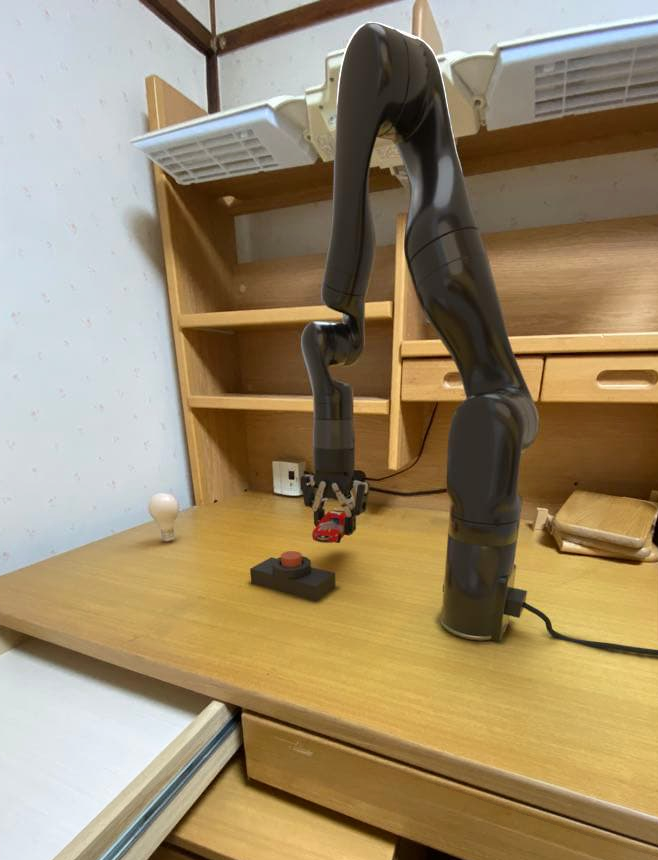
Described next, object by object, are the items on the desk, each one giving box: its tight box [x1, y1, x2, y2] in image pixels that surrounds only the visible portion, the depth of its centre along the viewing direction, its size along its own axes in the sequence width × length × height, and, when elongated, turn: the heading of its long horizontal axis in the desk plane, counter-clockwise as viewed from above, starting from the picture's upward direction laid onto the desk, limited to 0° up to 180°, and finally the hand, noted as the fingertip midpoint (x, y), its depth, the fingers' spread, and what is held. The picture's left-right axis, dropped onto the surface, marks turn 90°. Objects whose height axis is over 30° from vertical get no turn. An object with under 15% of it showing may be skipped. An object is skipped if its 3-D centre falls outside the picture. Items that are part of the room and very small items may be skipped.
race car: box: [311, 509, 346, 544], centre depth 88 cm, size 13×5×4 cm, turn 161°
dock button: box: [280, 550, 303, 567], centre depth 79 cm, size 4×4×2 cm
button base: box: [249, 555, 336, 603], centre depth 80 cm, size 14×6×4 cm, turn 59°
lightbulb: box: [147, 492, 180, 543], centre depth 100 cm, size 6×6×11 cm
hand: (334, 531), depth 89 cm, fingers closed on race car, 6 cm apart
